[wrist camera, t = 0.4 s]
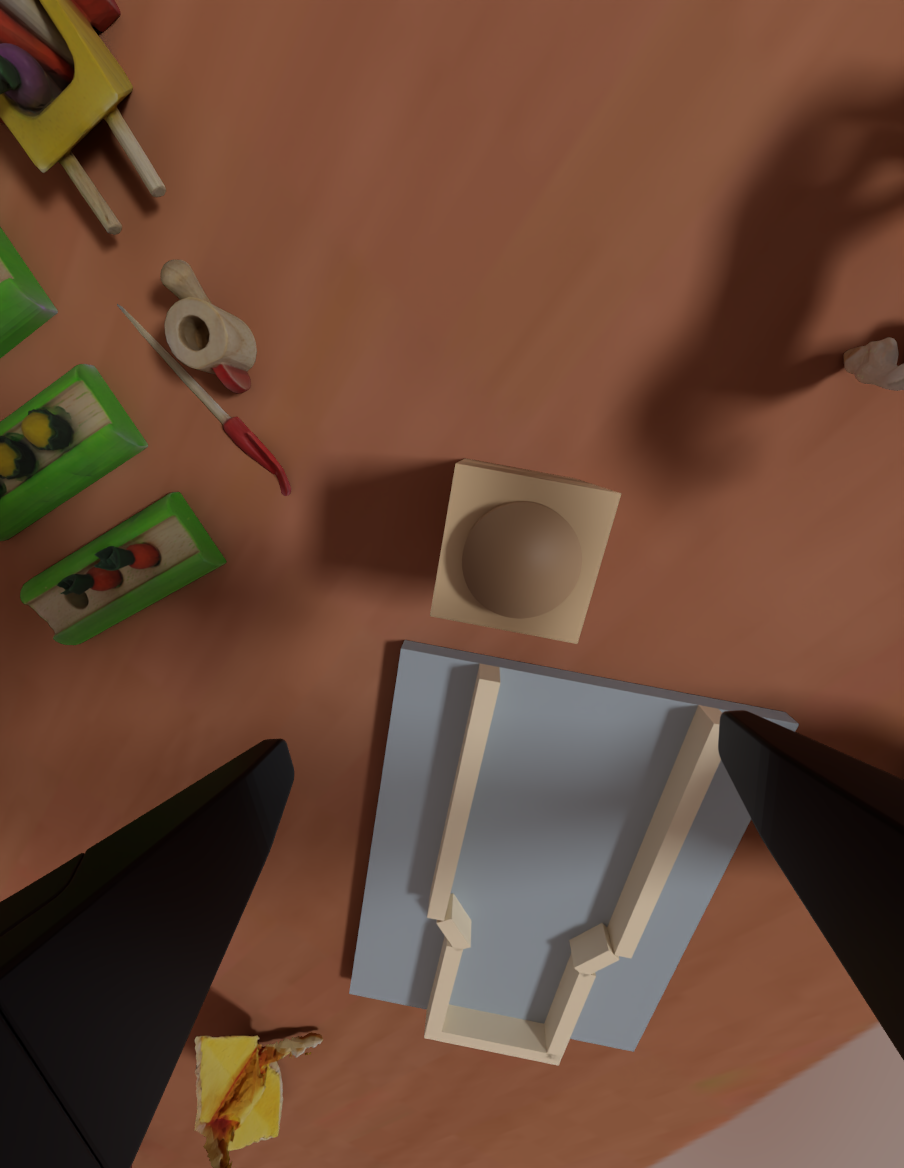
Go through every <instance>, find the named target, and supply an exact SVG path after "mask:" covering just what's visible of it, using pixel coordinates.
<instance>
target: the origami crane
mask: <svg viewBox="0 0 904 1168" xmlns="http://www.w3.org/2000/svg"><path fill="white" fill-rule="evenodd" d="M258 1039H260V1038H259V1037H258V1035H257V1036H252V1037H251V1036H236V1035H235V1036H234V1035H232V1036H231V1037H230V1036H224V1037H223V1036H220V1037H211V1036H210V1037H209V1036H200V1037H196V1038H195V1044H196V1046H195V1050H196V1053H197V1054H196V1060H197V1063H196V1064H197V1065H196V1070H195V1074H196V1076H197V1078H198V1079H197V1081H196V1087H197V1090H196V1094H197V1095H196V1096H197V1099H198V1101H197V1102H198V1103H197V1104H198V1106H197V1110H198V1111H197V1114H196V1115H197V1116H196V1123H195V1128H196V1129H194V1130H195V1131H197V1132H198V1131H199V1133H200V1132H201V1134H203V1135H204V1137H205V1136H206V1143H205V1145H204V1148H205V1149H206V1151H207V1153H209V1154H208V1156H207V1157H209V1158H210V1159H209V1161H211V1166H212V1167H213V1168H231V1165H232V1162H231V1163H230V1165H229V1160H230V1158H229V1151H231V1150H238V1149H240V1148H241V1149H242V1148H244V1147H245V1146H249V1145H250V1144H252V1143H254V1142H256V1143H257V1142H259V1141H260V1140H268V1139H270V1138H274V1137H278V1132H279V1128H280V1126H279V1125H280V1118H281V1110H282V1101H283V1097H282V1092H283V1090H282V1086H283V1084H282V1079H281V1072H280V1068H279V1066H278V1064H277V1061H278V1060H279V1059H282V1058H284V1057H285V1056H286V1055H287V1054H290V1053H291V1055H290V1056H289V1058H290V1057H291V1056H292V1055H295V1057H298V1056H299V1055H301V1054H302V1053H304V1051H305V1049H306V1048H309V1047H313V1048H315V1047H316V1046H317V1044H320V1043H321V1042H322V1041H323V1038H322V1036H321V1035H320V1034H316V1033H309V1034H307V1035H306V1036H304V1037H302V1036H301V1037H299V1036H298V1037H296V1038H293V1037H292V1039H291V1040H289V1039H287V1038H284V1040H283V1042H282V1041H280V1042H279V1044H278V1043H277V1042H276V1044H273V1045H272V1044H269V1045H266V1047H261V1046H262V1045H259V1044H258V1041H257V1040H258ZM305 1055H308V1053H305ZM309 1055H311V1052H310V1053H309Z"/></svg>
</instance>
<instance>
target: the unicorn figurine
mask: <svg viewBox="0 0 904 1168" xmlns="http://www.w3.org/2000/svg"><path fill="white" fill-rule="evenodd" d="M898 355H899V353H898V347H897V342H896V341H895V339H893V338H890V337H888V338H885V339H883V340H880V341H873V342H870V343H868V344H867V345H866V346H860V347H856V348H853V349H850V350H847V351H846V352H845V353H844V355H843V357H844V367H845V370H846V371H847V372H849V373H852V374H854V375H855V377H856V379H857V380H858V381H859V382H861V383H864V384H874V385H877V386H879V387H882V388H885V389H889V390H896V391H898V390H904V363H903V364H901V365H899V366H897V365H896V364H897V361H898Z"/></svg>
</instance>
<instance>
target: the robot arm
mask: <svg viewBox="0 0 904 1168" xmlns="http://www.w3.org/2000/svg"><path fill="white" fill-rule="evenodd" d="M718 751H719V755H720V758H721V761H722V763H723V765H724V766H725V768H726V770H727V772H728V774H729V776H730V778H731V780H732V782H733V784H734V786H735V788H736V790H737V792H738V794H739V796H740V798H741V800H742V802H743V804H744V806H745V808H746V810H747V812H748V814H749V815H750V817H751V819H752V821H753V823H754V825H755V827H756V829H757V831H758V832H759V834H760V836H761V838H762V839H763V841H764V843H765V844H766V846H767V848H768V849H769V851H770V852H771V854H772V855H773V857H774V859H775V860H776V862H777V863H778V865H779V866H780V868H781V870H782V871H783V873H784V874H785V876H786V877H787V879H788V880H789V882H790V884H791V885H792V887H793V888H794V890H795V891H796V893H797V895H798V896H799V898H800V899H801V901H802V902H803V904H804V905H805V907H806V909H807V910H808V912H809V913H810V915H811V916H812V918H813V919H814V921H815V923H816V924H817V926H818V927H819V929H820V930H821V932H822V934H823V935H824V937H825V938H826V940H827V941H828V943H829V944H830V946H831V948H832V949H833V951H834V952H835V954H836V955H837V957H838V959H839V960H840V962H841V963H842V965H843V966H844V968H845V969H846V971H847V973H848V974H849V976H850V977H851V979H852V980H853V982H854V984H855V985H856V987H857V988H858V990H859V991H860V993H861V994H862V996H863V998H864V999H865V1001H866V1002H867V1004H868V1005H869V1007H870V1008H871V1010H872V1012H873V1013H874V1015H875V1016H876V1018H877V1019H878V1021H879V1023H880V1024H881V1026H882V1027H883V1029H884V1030H885V1032H886V1033H887V1035H888V1037H889V1038H890V1040H891V1041H892V1043H893V1044H894V1046H895V1048H896V1049H897V1051H898V1052H899V1054H900V1055H901V1057H902V1058H903V1060H904V780H903V779H901V778H899V777H897V776H894V775H892V774H890V773H887V772H885V771H883V770H881V769H878V768H876V767H874V766H872V765H869V764H867V763H865V762H862V761H860V760H858V759H856V758H853V757H851V756H849V755H846V754H844V753H842V752H840V751H837V750H835V749H833V748H831V747H828V746H826V745H824V744H821V743H819V742H817V741H815V740H812V739H810V738H808V737H806V736H803V735H801V734H799V733H796V732H794V731H792V730H790V729H787V728H785V727H783V726H781V725H778V724H776V723H774V722H771V721H769V720H767V719H765V718H762V717H760V716H758V715H756V714H753V713H751V712H749V711H746V710H736V711H724V712H723V713H722V714H721V716H720V723H719V738H718ZM293 780H294V767H293V764H292V760H291V757H290V753H289V750H288V746H287V743H286V742H285V740H283V739H267V740H263V741H262V742H260V743H258V744H257V745H255V746H254V747H252V748H250V749H249V750H247V751H246V752H244V753H242V754H241V755H239V756H237V757H236V758H234V759H233V760H231V761H229V762H228V763H226V764H225V765H223V766H221V767H220V768H218V769H217V770H215V771H213V772H212V773H210V774H208V775H207V776H205V777H204V778H202V779H200V780H199V781H197V782H196V783H194V784H192V785H191V786H189V787H187V788H186V789H184V790H183V791H181V792H179V793H178V794H176V795H175V796H173V797H171V798H170V799H168V800H166V801H165V802H163V803H162V804H160V805H158V806H157V807H155V808H154V809H152V810H150V811H149V812H147V813H146V814H144V815H142V816H141V817H139V818H137V819H136V820H134V821H133V822H131V823H129V824H128V825H126V826H125V827H123V828H121V829H120V830H118V831H116V832H115V833H113V834H112V835H110V836H108V837H107V838H105V839H104V840H102V841H100V842H99V843H97V844H96V845H94V846H92V847H91V848H89V849H87V851H86V852H85V854H84V853H81V854H79V855H78V856H76V857H74V858H73V859H71V860H70V861H68V862H66V863H65V864H63V865H61V866H60V867H58V868H57V869H55V870H53V871H52V872H50V873H48V874H47V875H45V876H43V877H42V878H40V879H38V880H37V881H35V882H33V883H32V884H30V885H29V886H27V887H25V888H24V889H22V890H20V891H19V892H17V893H15V894H13V895H12V896H10V897H8V898H7V899H5V900H3V901H1V902H0V1168H131V1166H132V1163H133V1161H134V1159H135V1156H136V1154H137V1152H138V1150H139V1147H140V1145H141V1143H142V1141H143V1138H144V1136H145V1134H146V1132H147V1129H148V1127H149V1125H150V1122H151V1120H152V1118H153V1116H154V1113H155V1111H156V1109H157V1107H158V1104H159V1102H160V1100H161V1097H162V1095H163V1093H164V1091H165V1088H166V1086H167V1084H168V1082H169V1079H170V1077H171V1075H172V1073H173V1070H174V1068H175V1066H176V1063H177V1061H178V1059H179V1057H180V1054H181V1052H182V1050H183V1048H184V1045H185V1043H186V1041H187V1038H188V1036H189V1034H190V1032H191V1029H192V1027H193V1025H194V1023H195V1020H196V1018H197V1016H198V1014H199V1011H200V1009H201V1007H202V1004H203V1002H204V1000H205V998H206V995H207V993H208V991H209V989H210V986H211V984H212V982H213V980H214V977H215V975H216V973H217V970H218V968H219V966H220V964H221V961H222V959H223V957H224V955H225V952H226V950H227V948H228V945H229V943H230V941H231V939H232V936H233V934H234V932H235V930H236V927H237V925H238V923H239V921H240V918H241V916H242V914H243V911H244V909H245V907H246V905H247V902H248V900H249V898H250V896H251V893H252V891H253V889H254V886H255V884H256V882H257V880H258V877H259V875H260V873H261V871H262V868H263V866H264V864H265V861H266V859H267V857H268V854H269V852H270V849H271V846H272V844H273V841H274V838H275V835H276V832H277V829H278V826H279V823H280V820H281V817H282V814H283V811H284V808H285V805H286V802H287V799H288V796H289V793H290V790H291V787H292V784H293Z"/></svg>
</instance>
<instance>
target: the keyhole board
mask: <svg viewBox="0 0 904 1168" xmlns="http://www.w3.org/2000/svg"><path fill="white" fill-rule="evenodd" d="M736 710H746V711H749V712H751V713H753V714H756V715H758V716H760V717H762V718H765V719H767V720H769V721H771V722H774V723H776V724H778V725H781V726H783V727H785V728H787V729H790V730H792V731H794V732H795V731H796V729H797V727H798V725H799V724H798V723H797V722H796V721H795V720H794V719H793V718H792V717H790V716H789V715H788V714H787V713H786V712H782V711H777V710H771V709H766V708H761V707H756V706H750V705H745V704H740V703H734V702H729V701H724V700H719V699H713V698H708V697H703V696H698V695H692V694H687V693H682V692H676V691H671V690H666V689H661V688H655V687H650V686H645V685H640V684H634V683H629V682H624V681H618V680H613V679H608V678H603V677H597V676H592V675H587V674H582V673H576V672H571V671H566V670H560V669H555V668H550V667H545V666H539V665H534V664H529V663H524V662H518V661H513V660H508V659H502V658H497V657H492V656H487V655H481V654H476V653H471V652H466V651H460V650H455V649H450V648H444V647H439V646H434V645H429V644H423V643H418V642H413V641H408V640H404V642H403V645H402V647H401V652H400V659H399V665H398V672H397V679H396V685H395V692H394V699H393V705H392V712H391V719H390V725H389V732H388V739H387V745H386V752H385V759H384V765H383V772H382V779H381V785H380V792H379V799H378V805H377V812H376V819H375V825H374V832H373V839H372V845H371V852H370V859H369V865H368V872H367V879H366V885H365V892H364V899H363V905H362V912H361V919H360V925H359V932H358V939H357V945H356V952H355V959H354V965H353V972H352V979H351V985H350V992H349V994H353V995H358V996H363V997H368V998H373V999H378V1000H383V1001H388V1002H393V1003H397V1004H402V1005H407V1006H412V1007H417V1008H422V1009H427V1013H426V1023H425V1033H424V1038H427V1039H432V1040H437V1041H441V1042H446V1043H451V1044H456V1045H461V1046H466V1047H471V1048H476V1049H481V1050H485V1051H490V1052H495V1053H500V1054H505V1055H510V1056H515V1057H520V1058H524V1059H529V1060H534V1061H539V1062H544V1063H549V1064H554V1065H559V1063H560V1061H561V1058H562V1056H563V1054H564V1051H565V1049H566V1047H567V1044H568V1042H569V1039H574V1040H579V1041H584V1042H589V1043H594V1044H599V1045H604V1046H609V1047H614V1048H618V1049H623V1050H628V1051H633V1052H634V1050H635V1048H636V1046H637V1044H638V1042H639V1040H640V1038H641V1036H642V1034H643V1032H644V1030H645V1028H646V1026H647V1024H648V1022H649V1020H650V1018H651V1017H652V1015H653V1013H654V1011H655V1009H656V1007H657V1005H658V1003H659V1001H660V999H661V997H662V995H663V993H664V991H665V989H666V987H667V985H668V983H669V981H670V979H671V977H672V975H673V973H674V971H675V969H676V967H677V965H678V963H679V961H680V959H681V957H682V955H683V953H684V951H685V949H686V947H687V945H688V943H689V941H690V939H691V937H692V935H693V933H694V931H695V929H696V927H697V925H698V923H699V921H700V919H701V917H702V915H703V913H704V911H705V909H706V907H707V906H708V904H709V902H710V900H711V898H712V896H713V894H714V892H715V890H716V888H717V886H718V884H719V882H720V880H721V878H722V876H723V874H724V872H725V870H726V868H727V866H728V864H729V862H730V860H731V858H732V856H733V854H734V852H735V850H736V848H737V846H738V844H739V842H740V840H741V838H742V836H743V834H744V832H745V830H746V828H747V826H748V824H749V822H750V820H751V817H750V815H749V814H748V812H747V810H746V808H745V806H744V804H743V802H742V800H741V798H740V796H739V794H738V792H737V790H736V788H735V786H734V784H733V782H732V780H731V778H730V776H729V774H728V772H727V770H726V768H725V766H724V765H723V763H722V761H721V758H720V755H719V751H718V738H719V723H720V716H721V714H722V713H723V712H724V711H736Z"/></svg>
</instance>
